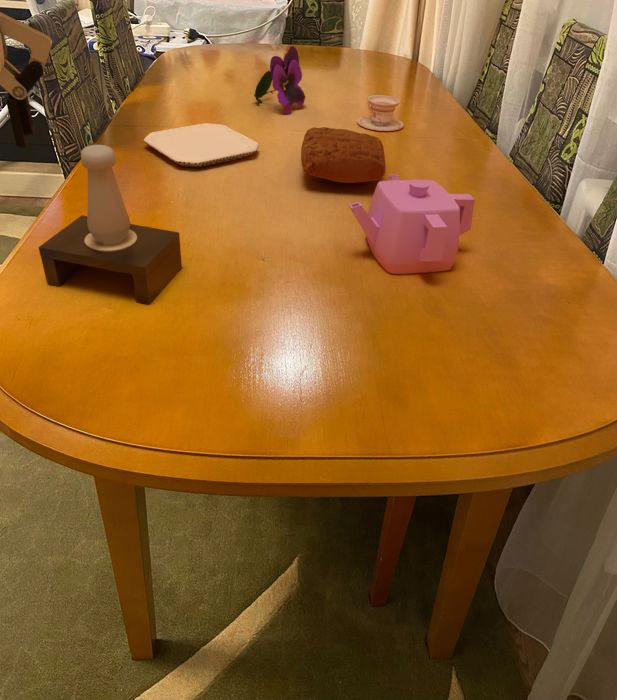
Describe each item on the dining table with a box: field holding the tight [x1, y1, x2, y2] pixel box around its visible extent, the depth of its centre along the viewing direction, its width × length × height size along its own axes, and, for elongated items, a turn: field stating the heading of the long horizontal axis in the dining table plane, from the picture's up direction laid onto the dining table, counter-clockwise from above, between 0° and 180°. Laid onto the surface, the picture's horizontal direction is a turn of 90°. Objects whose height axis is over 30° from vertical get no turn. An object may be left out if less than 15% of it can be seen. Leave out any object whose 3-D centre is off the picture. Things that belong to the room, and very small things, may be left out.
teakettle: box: [348, 173, 475, 275], centre depth 97 cm, size 17×17×12 cm
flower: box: [253, 45, 306, 115], centre depth 160 cm, size 15×15×14 cm
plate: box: [143, 122, 260, 168], centre depth 133 cm, size 21×21×2 cm
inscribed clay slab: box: [300, 126, 386, 184], centre depth 124 cm, size 22×17×8 cm
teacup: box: [356, 94, 405, 132], centre depth 154 cm, size 12×12×6 cm
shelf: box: [38, 215, 183, 306], centre depth 88 cm, size 16×11×6 cm
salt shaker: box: [80, 144, 131, 245], centre depth 82 cm, size 6×6×13 cm
